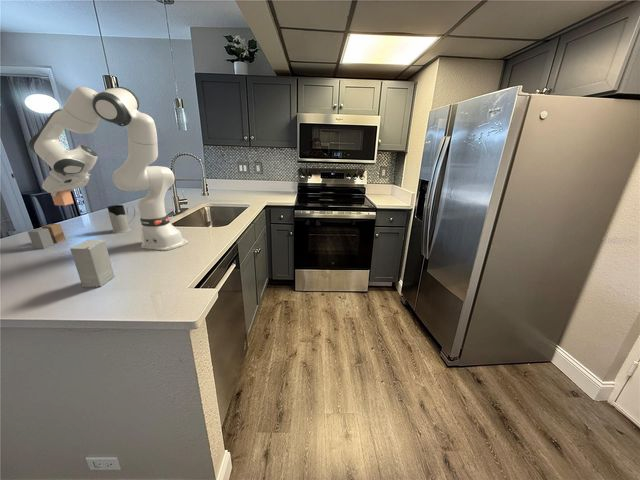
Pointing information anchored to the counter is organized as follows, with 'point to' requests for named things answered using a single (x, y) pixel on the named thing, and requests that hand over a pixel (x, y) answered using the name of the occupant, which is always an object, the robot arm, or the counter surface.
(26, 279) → the counter surface
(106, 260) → the skincare box
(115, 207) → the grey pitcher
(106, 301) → the counter surface
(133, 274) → the counter surface
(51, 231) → the walnut block
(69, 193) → the terracotta block
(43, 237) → the grey block
